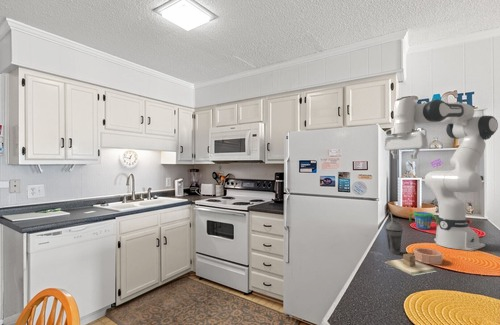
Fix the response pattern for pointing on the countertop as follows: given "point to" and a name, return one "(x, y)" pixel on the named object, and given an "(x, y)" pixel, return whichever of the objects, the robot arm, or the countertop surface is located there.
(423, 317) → the countertop surface
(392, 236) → the beverage cup
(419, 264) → the cover
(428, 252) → the bowl
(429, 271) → the mat
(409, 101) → the robot arm
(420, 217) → the snack cup
